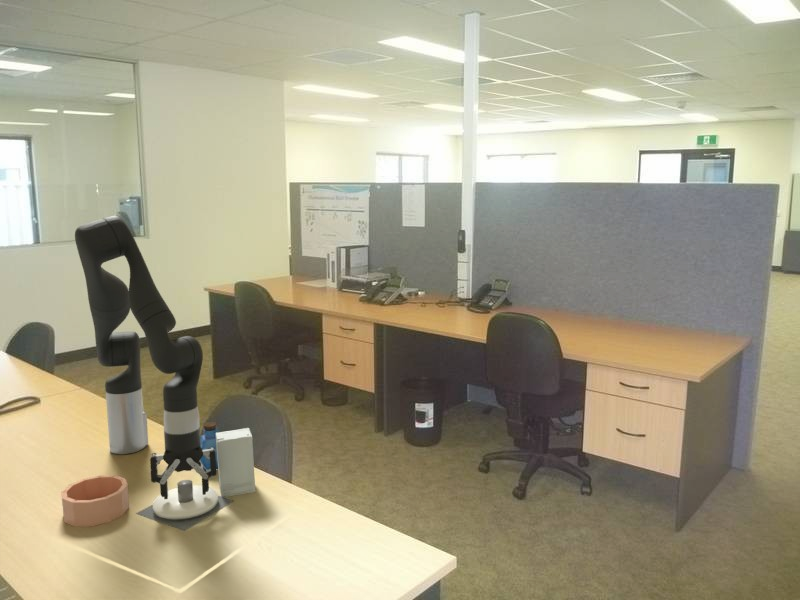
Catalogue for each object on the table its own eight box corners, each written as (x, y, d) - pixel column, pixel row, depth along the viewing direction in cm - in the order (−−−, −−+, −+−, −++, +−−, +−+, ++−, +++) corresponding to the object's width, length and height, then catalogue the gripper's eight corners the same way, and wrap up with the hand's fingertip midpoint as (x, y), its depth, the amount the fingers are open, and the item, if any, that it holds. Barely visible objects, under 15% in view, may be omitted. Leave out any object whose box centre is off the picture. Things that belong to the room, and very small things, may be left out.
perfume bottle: (201, 475, 159) (199, 430, 158) (197, 465, 165) (195, 422, 163) (226, 470, 162) (224, 426, 160) (221, 461, 168) (219, 418, 166)
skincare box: (252, 483, 155) (250, 426, 152) (256, 494, 149) (254, 435, 147) (217, 489, 152) (215, 430, 149) (219, 500, 146) (216, 440, 144)
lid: (187, 487, 151) (186, 465, 150) (231, 501, 145) (230, 477, 144) (139, 512, 139) (137, 488, 138) (184, 528, 132) (183, 503, 132)
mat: (187, 488, 152) (187, 486, 152) (234, 503, 145) (234, 500, 145) (135, 515, 139) (135, 513, 139) (184, 533, 132) (184, 530, 132)
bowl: (103, 494, 149) (101, 471, 148) (141, 507, 142) (139, 483, 141) (51, 519, 137) (48, 493, 136) (89, 534, 131) (87, 507, 130)
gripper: (145, 436, 133) (150, 507, 136) (215, 429, 137) (218, 499, 140) (148, 423, 140) (153, 492, 143) (215, 417, 144) (218, 484, 147)
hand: (185, 495), depth 141 cm, fingers open, 7 cm apart
